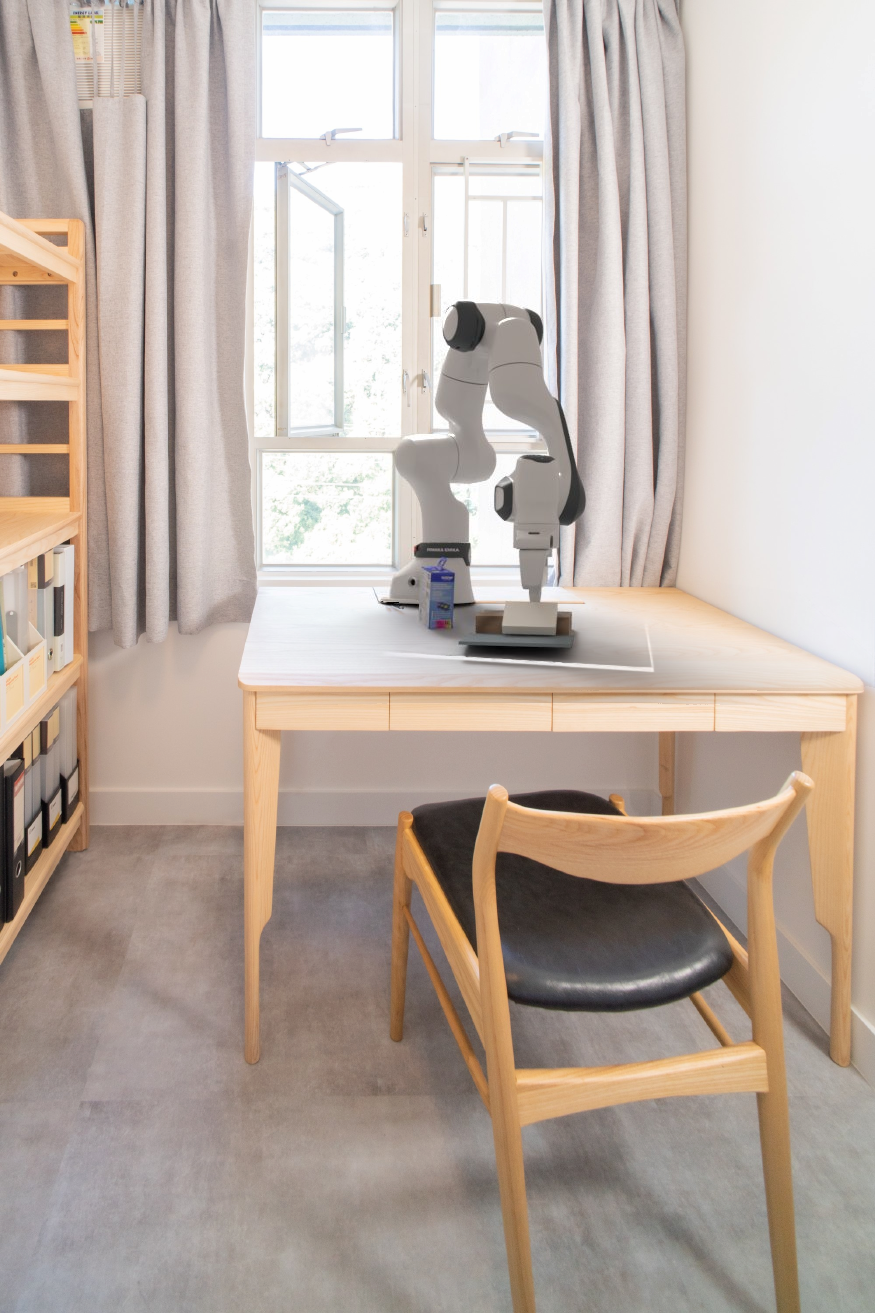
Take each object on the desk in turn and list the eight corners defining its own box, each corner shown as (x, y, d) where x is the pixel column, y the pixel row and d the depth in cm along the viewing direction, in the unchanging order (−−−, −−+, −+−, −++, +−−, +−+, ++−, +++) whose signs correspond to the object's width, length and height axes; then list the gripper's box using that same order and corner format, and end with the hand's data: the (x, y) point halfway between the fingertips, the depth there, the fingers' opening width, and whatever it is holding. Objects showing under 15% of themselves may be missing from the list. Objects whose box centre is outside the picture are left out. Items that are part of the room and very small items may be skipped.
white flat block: (502, 633, 179) (501, 625, 178) (506, 609, 184) (505, 601, 183) (555, 635, 177) (555, 627, 176) (557, 610, 182) (557, 602, 181)
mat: (458, 644, 170) (458, 641, 170) (470, 635, 184) (470, 632, 184) (570, 647, 166) (570, 644, 166) (573, 638, 181) (574, 635, 181)
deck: (475, 636, 184) (475, 615, 184) (484, 628, 198) (484, 609, 197) (568, 638, 181) (569, 617, 181) (571, 631, 195) (571, 611, 194)
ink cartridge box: (454, 631, 194) (456, 560, 190) (428, 632, 192) (429, 561, 189) (443, 622, 203) (444, 554, 200) (417, 622, 202) (418, 554, 198)
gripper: (524, 539, 194) (523, 606, 195) (514, 539, 174) (513, 614, 175) (555, 539, 193) (554, 607, 194) (549, 539, 173) (548, 615, 174)
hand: (534, 610), depth 185 cm, fingers closed
